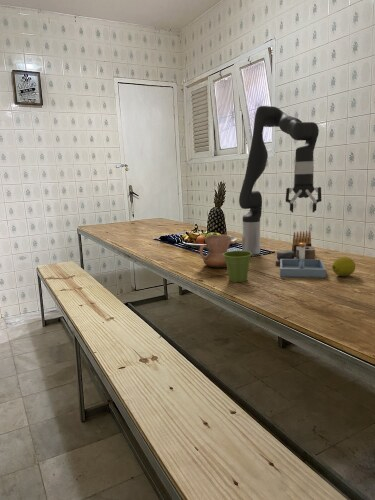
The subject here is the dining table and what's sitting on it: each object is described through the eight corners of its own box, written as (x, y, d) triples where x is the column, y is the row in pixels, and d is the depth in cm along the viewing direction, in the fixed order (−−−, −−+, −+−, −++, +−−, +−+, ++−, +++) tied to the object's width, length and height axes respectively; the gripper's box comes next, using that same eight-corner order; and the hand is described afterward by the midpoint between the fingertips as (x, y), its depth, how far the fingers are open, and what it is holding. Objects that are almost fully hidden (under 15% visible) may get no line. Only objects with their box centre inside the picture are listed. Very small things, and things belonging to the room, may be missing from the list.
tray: (280, 276, 160) (280, 268, 159) (280, 266, 177) (280, 258, 176) (325, 278, 155) (326, 269, 155) (321, 266, 172) (321, 259, 172)
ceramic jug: (228, 260, 191) (227, 232, 189) (241, 266, 178) (240, 236, 175) (195, 265, 186) (193, 236, 183) (205, 272, 173) (204, 241, 170)
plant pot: (229, 275, 165) (228, 249, 163) (255, 277, 160) (255, 251, 158) (219, 282, 155) (218, 255, 152) (247, 285, 150) (247, 257, 147)
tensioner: (275, 265, 179) (275, 250, 177) (275, 259, 190) (276, 245, 188) (316, 266, 174) (316, 251, 173) (313, 259, 186) (314, 245, 184)
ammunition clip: (309, 252, 202) (310, 230, 200) (311, 253, 201) (312, 230, 198) (291, 254, 200) (291, 231, 197) (293, 255, 198) (293, 232, 196)
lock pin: (297, 271, 165) (298, 243, 162) (297, 269, 168) (298, 242, 165) (305, 271, 164) (306, 243, 162) (304, 269, 167) (305, 242, 164)
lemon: (347, 272, 162) (348, 254, 161) (360, 277, 155) (361, 257, 153) (325, 275, 159) (326, 256, 158) (337, 280, 152) (338, 260, 150)
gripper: (286, 173, 155) (285, 213, 159) (323, 172, 152) (321, 213, 155) (285, 173, 162) (285, 211, 166) (321, 172, 159) (319, 211, 162)
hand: (302, 212), depth 161 cm, fingers open, 8 cm apart
